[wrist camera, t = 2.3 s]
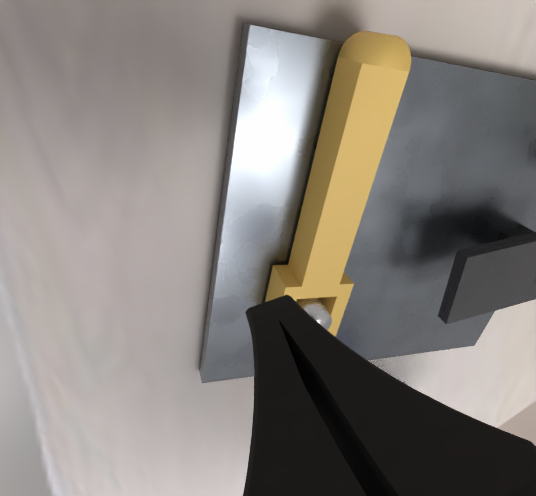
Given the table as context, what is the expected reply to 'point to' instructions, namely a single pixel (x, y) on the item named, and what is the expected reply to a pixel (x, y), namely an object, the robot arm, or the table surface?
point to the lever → (344, 170)
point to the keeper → (491, 276)
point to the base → (379, 200)
